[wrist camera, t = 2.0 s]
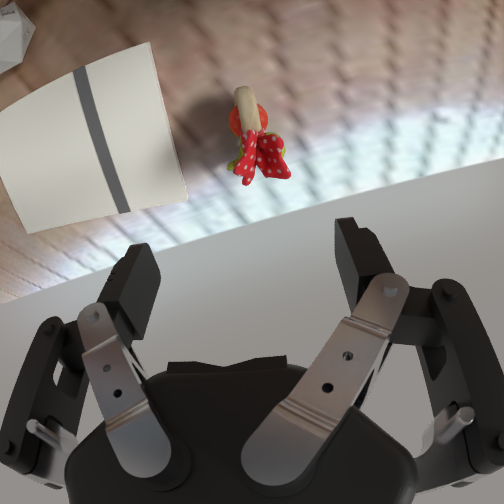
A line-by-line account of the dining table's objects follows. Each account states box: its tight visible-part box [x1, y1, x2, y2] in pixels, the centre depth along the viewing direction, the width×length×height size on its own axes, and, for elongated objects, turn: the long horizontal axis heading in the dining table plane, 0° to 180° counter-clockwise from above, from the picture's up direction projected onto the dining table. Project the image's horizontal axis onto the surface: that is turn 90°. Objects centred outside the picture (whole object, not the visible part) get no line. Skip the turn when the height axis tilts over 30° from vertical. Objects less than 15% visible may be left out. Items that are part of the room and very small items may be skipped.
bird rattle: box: [227, 86, 291, 186], centre depth 25 cm, size 6×11×9 cm
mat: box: [0, 42, 189, 234], centre depth 30 cm, size 18×26×1 cm
